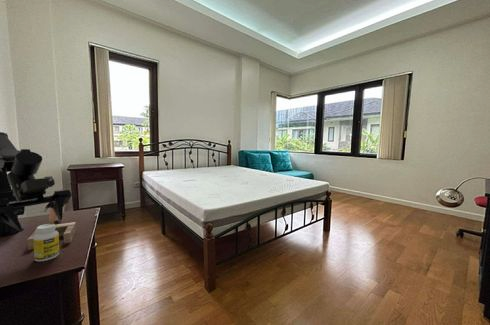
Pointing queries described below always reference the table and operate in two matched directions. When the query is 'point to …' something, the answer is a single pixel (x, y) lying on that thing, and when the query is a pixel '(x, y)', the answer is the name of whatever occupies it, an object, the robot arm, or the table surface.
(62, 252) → the table surface
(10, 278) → the table surface
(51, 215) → the grandmother figurine
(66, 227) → the notched board
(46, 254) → the supplement bottle
